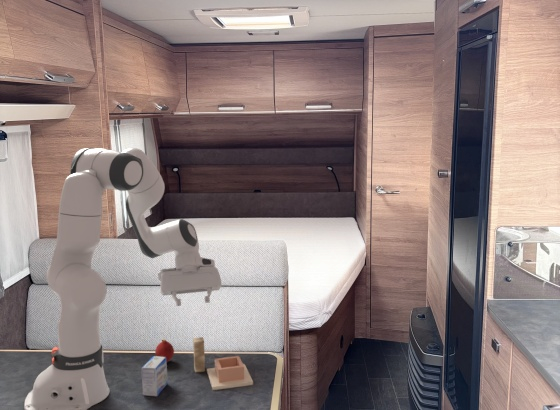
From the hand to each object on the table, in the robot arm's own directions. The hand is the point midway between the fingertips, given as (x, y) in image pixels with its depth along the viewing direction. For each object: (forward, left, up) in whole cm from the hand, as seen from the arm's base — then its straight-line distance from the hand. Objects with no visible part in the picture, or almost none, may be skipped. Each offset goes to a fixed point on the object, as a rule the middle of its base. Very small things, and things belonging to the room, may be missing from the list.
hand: (193, 303), depth 186 cm
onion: (-10, -5, -17) cm, 21 cm away
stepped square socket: (+8, -21, -17) cm, 28 cm away
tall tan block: (0, -13, -17) cm, 21 cm away
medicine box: (-14, -22, -17) cm, 31 cm away
